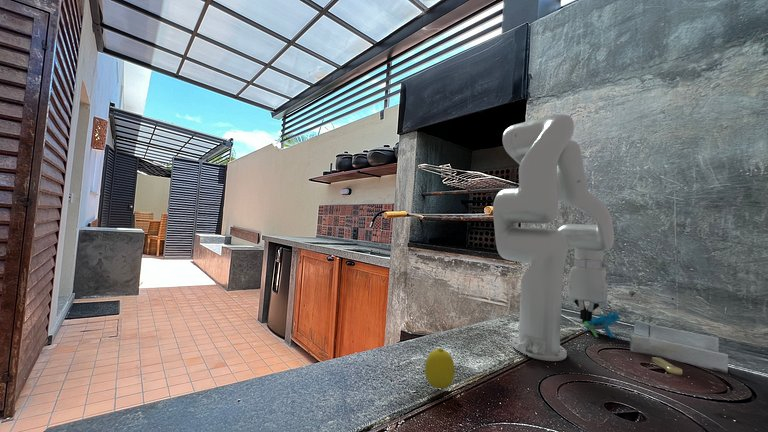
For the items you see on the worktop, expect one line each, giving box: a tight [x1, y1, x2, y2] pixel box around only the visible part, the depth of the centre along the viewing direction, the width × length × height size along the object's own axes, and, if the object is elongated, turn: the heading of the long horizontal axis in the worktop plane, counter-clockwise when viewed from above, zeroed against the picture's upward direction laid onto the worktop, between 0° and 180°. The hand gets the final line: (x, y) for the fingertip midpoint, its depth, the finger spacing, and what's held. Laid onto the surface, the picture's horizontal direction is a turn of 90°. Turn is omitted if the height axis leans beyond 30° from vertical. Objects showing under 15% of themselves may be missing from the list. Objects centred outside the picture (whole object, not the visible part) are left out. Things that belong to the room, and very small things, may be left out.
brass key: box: [651, 356, 683, 376], centre depth 72 cm, size 7×3×1 cm, turn 173°
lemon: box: [424, 347, 456, 390], centre depth 59 cm, size 6×6×8 cm
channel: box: [629, 319, 729, 374], centre depth 83 cm, size 20×18×4 cm
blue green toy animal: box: [583, 312, 621, 339], centre depth 92 cm, size 11×6×10 cm
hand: (585, 322), depth 97 cm, fingers closed
